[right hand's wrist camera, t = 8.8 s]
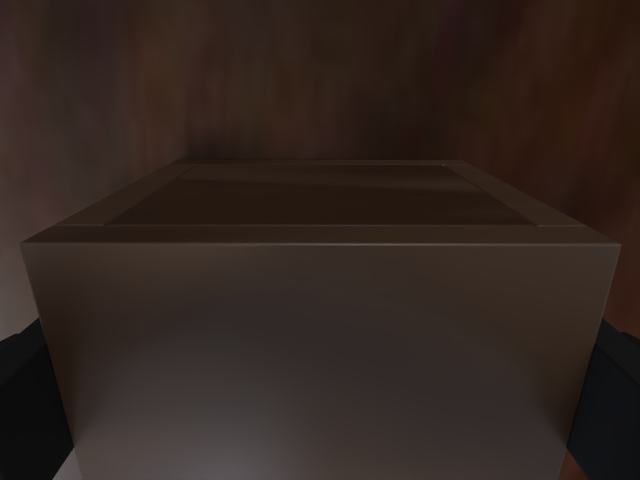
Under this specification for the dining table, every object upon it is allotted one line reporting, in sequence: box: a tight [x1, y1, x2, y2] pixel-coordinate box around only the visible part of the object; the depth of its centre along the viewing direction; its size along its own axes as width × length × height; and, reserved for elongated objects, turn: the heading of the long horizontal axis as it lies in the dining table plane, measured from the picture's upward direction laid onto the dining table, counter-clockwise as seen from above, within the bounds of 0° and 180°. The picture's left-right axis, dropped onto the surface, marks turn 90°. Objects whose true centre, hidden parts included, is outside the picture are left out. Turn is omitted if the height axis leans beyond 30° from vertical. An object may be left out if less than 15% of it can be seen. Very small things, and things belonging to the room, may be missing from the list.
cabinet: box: [20, 159, 621, 480], centre depth 15 cm, size 21×11×9 cm, turn 0°
